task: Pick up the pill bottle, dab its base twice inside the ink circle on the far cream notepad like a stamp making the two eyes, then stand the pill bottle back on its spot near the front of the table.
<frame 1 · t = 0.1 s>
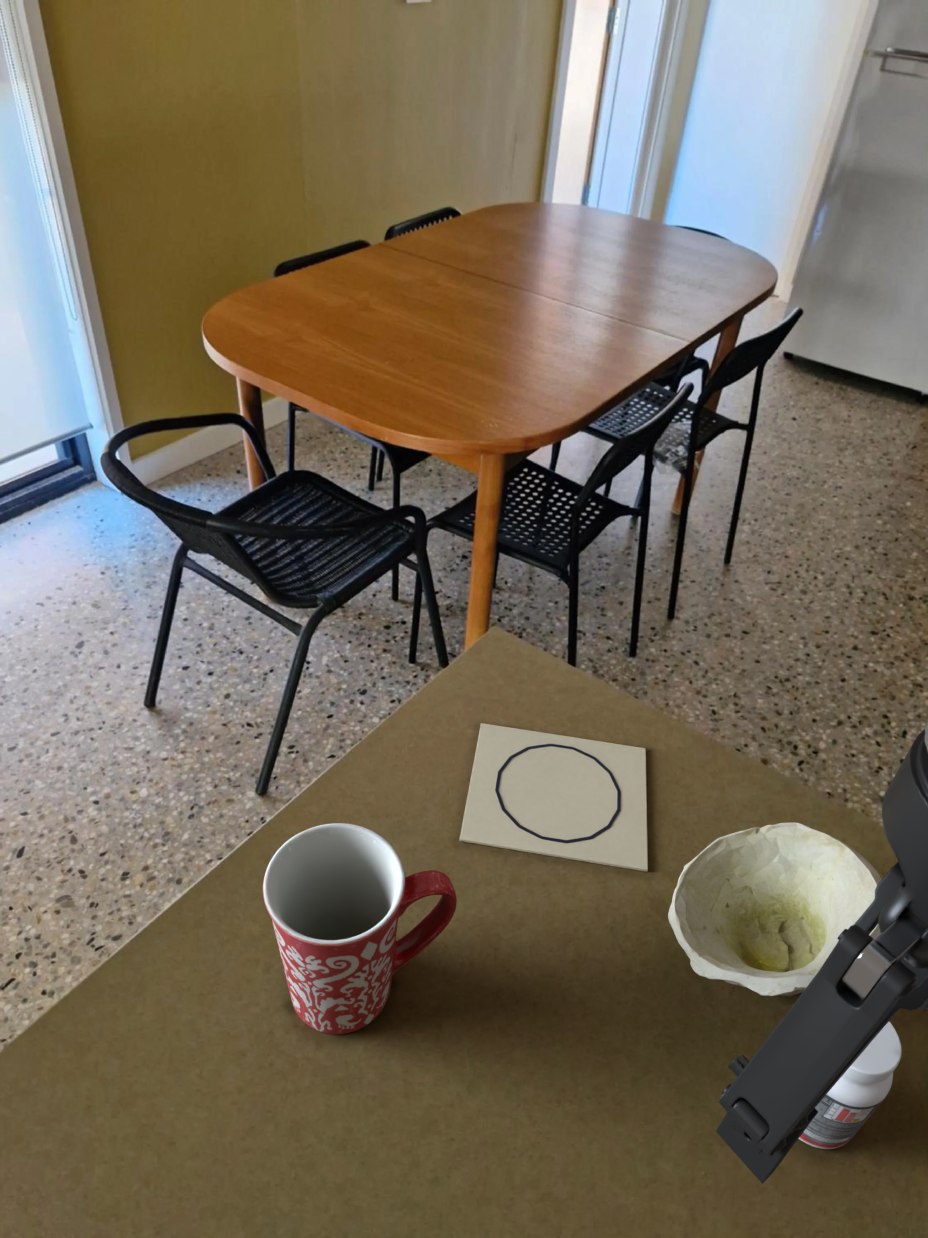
hand: (829, 1064, 44), 19 cm above the counter, tool pointing down, fingers open, 13 cm apart
pill bottle: (810, 1107, 61), on the counter
notepad: (557, 793, 81), on the counter
bowl: (750, 954, 70), on the counter
mug: (363, 986, 65), on the counter
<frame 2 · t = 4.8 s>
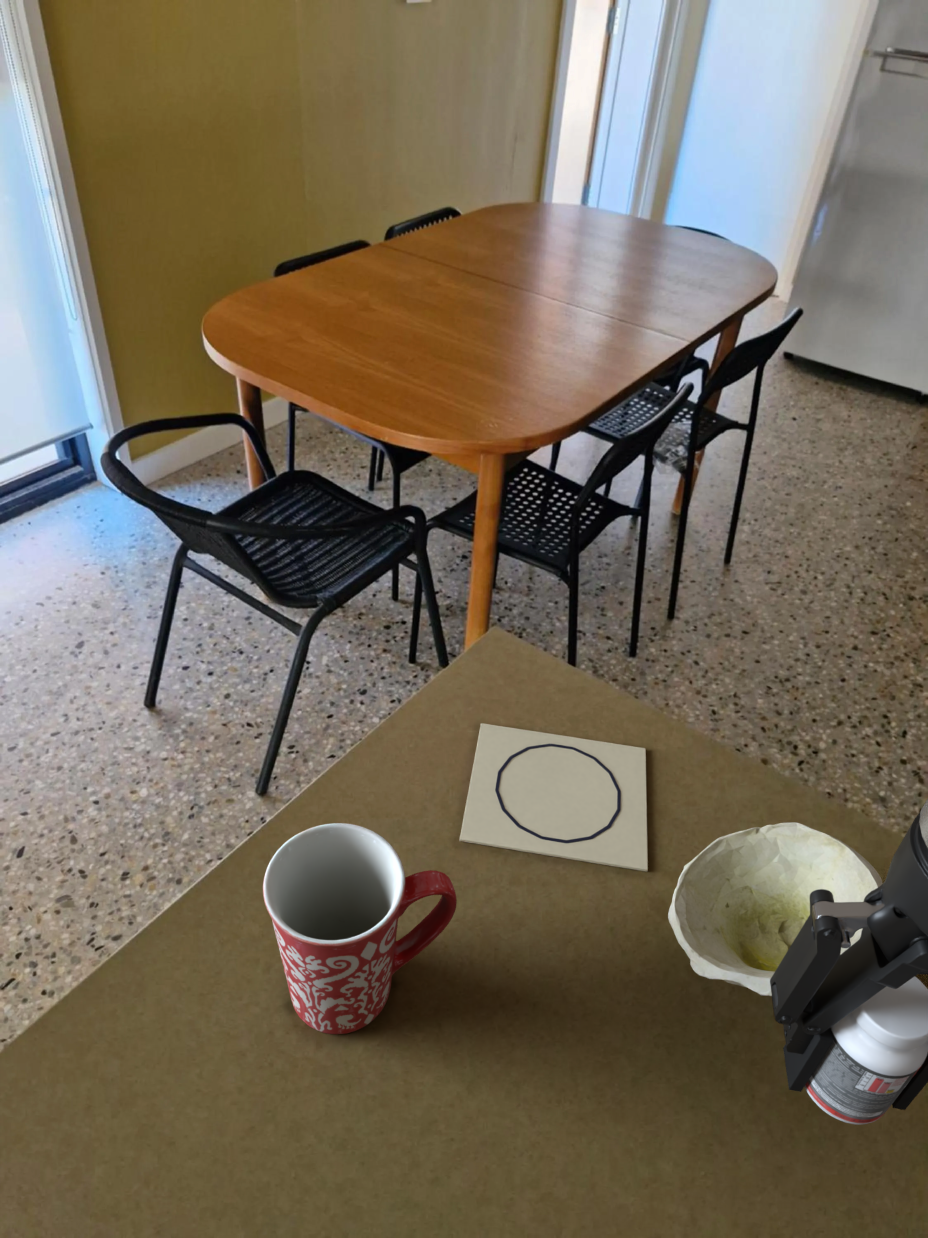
hand: (842, 1078, 57), 5 cm above the counter, tool pointing down, fingers closed on pill bottle, 6 cm apart
pill bottle: (840, 1082, 57), point 5 cm above the counter, touching gripper
everything else where it was.
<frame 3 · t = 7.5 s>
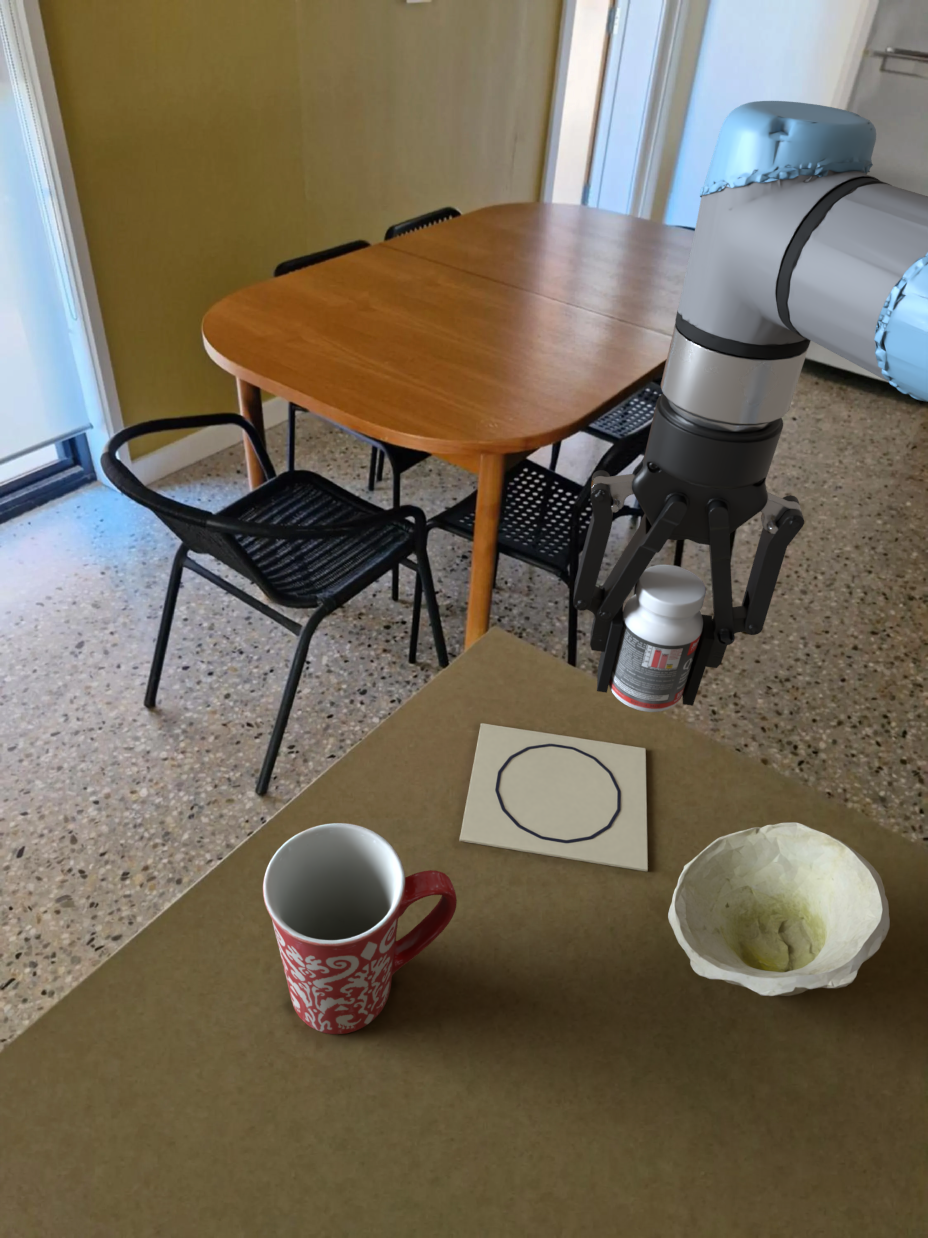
hand: (644, 685, 67), 17 cm above the counter, tool pointing down, fingers closed on pill bottle, 6 cm apart
pill bottle: (643, 690, 68), point 17 cm above the counter, touching gripper
everything else where it was.
when the fingers open (1 cm above the counter, at t = 10.5 s): pill bottle stays where it is, resting on notepad.
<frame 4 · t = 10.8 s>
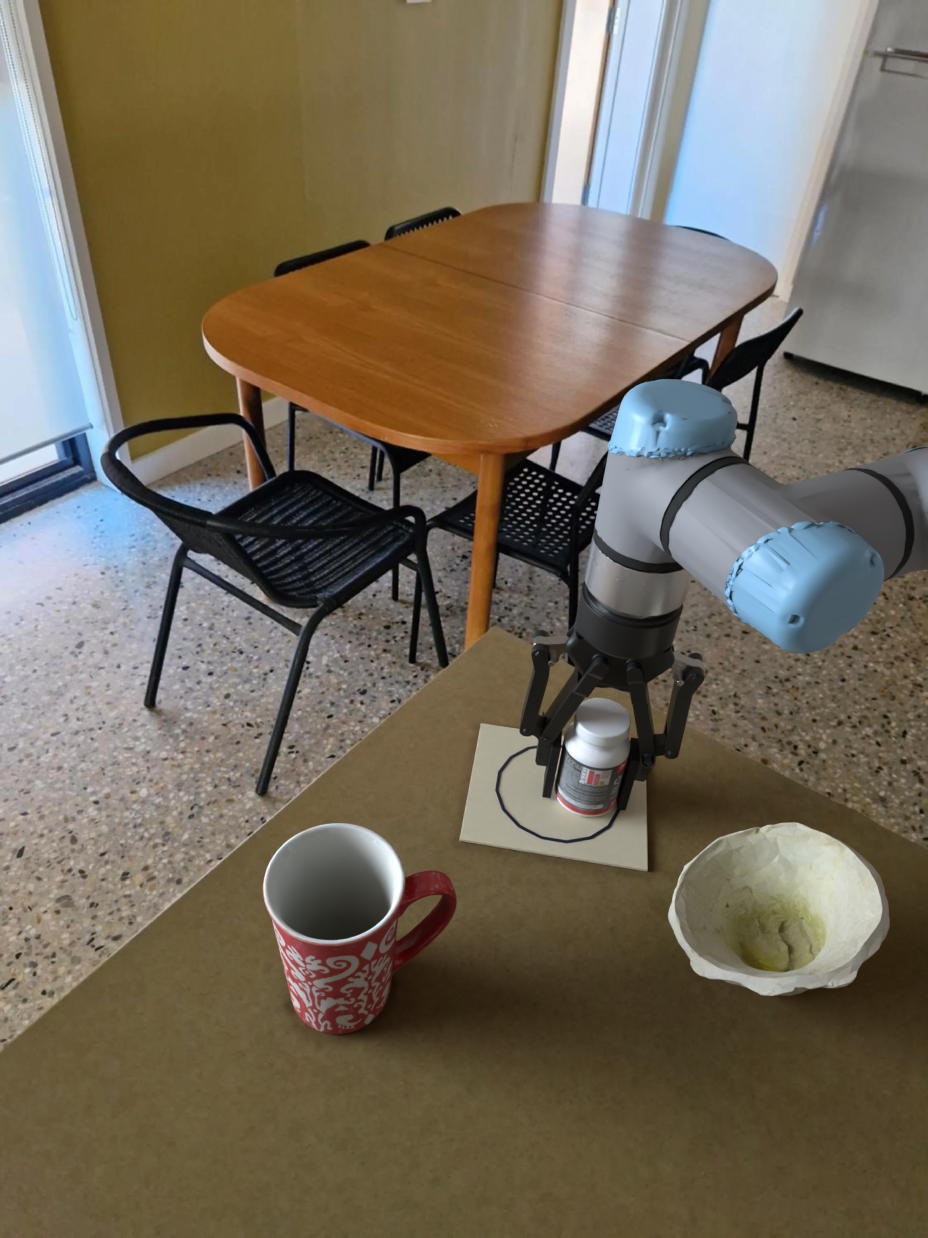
hand: (584, 792, 80), 1 cm above the counter, tool pointing down, fingers open, 6 cm apart
pill bottle: (584, 796, 80), resting on notepad
everything else where it was.
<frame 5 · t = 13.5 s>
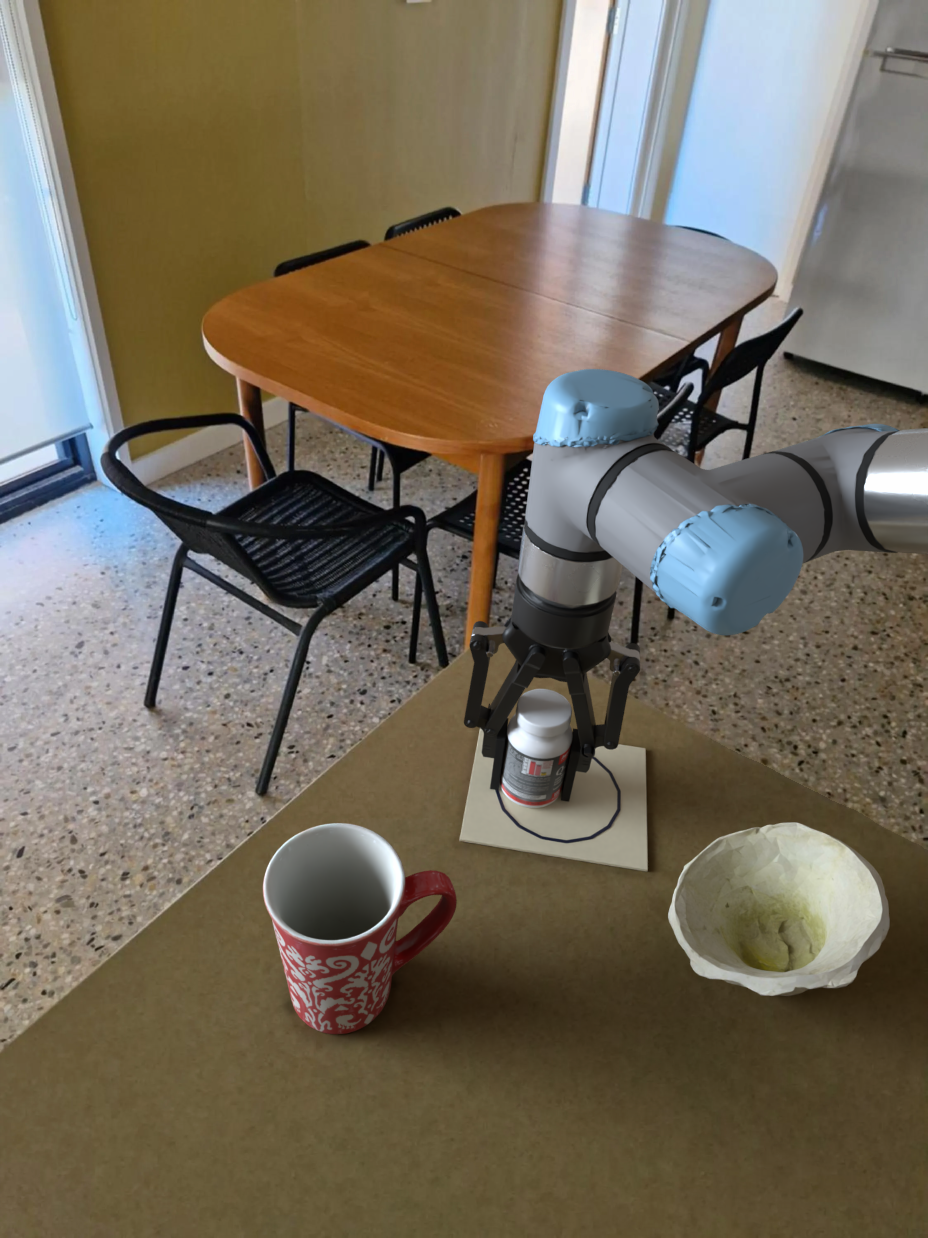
hand: (530, 783, 80), 1 cm above the counter, tool pointing down, fingers closed on pill bottle, 6 cm apart
pill bottle: (529, 787, 81), resting on notepad, touching gripper
everything else where it was.
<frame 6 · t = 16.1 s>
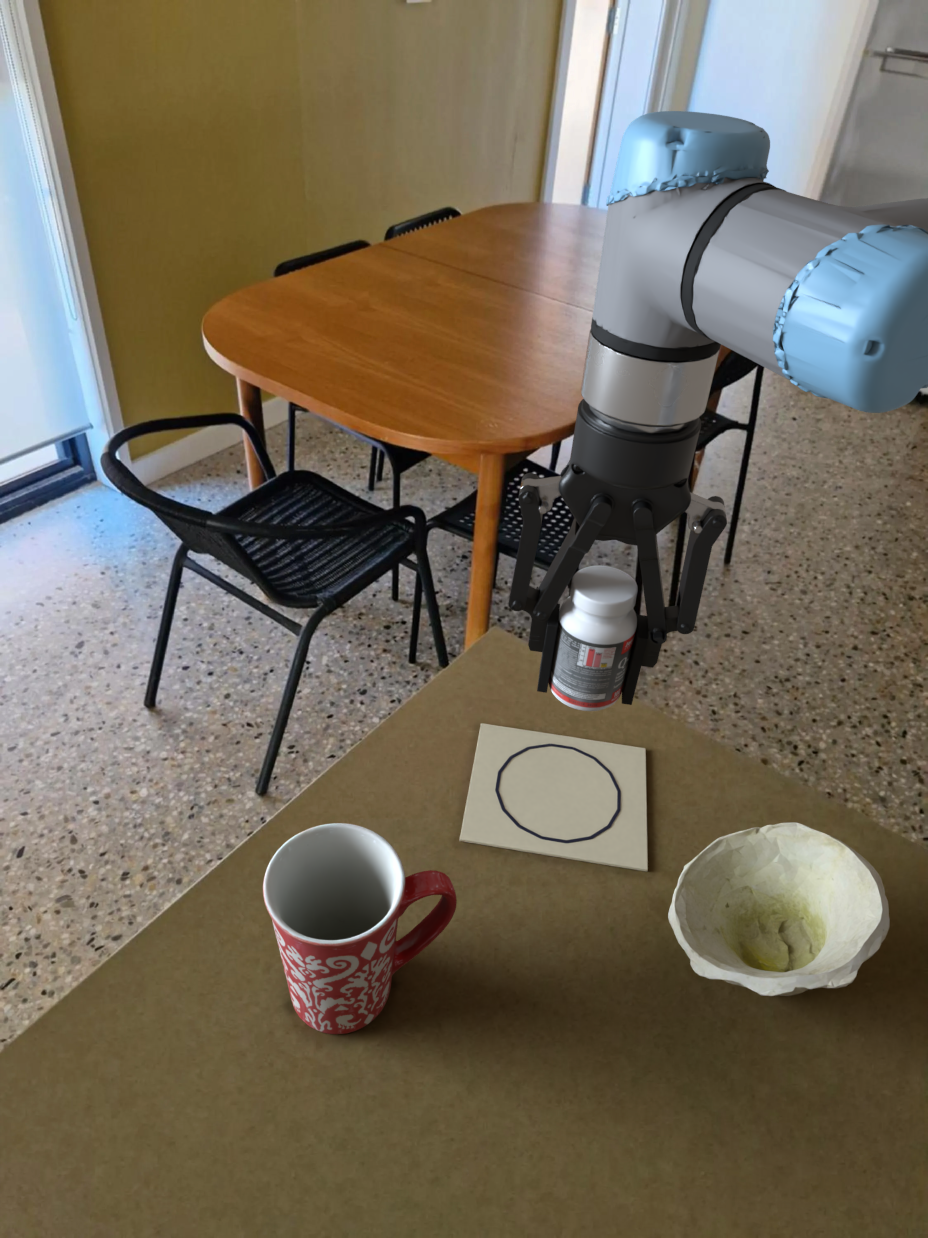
hand: (584, 685, 68), 16 cm above the counter, tool pointing down, fingers closed on pill bottle, 6 cm apart
pill bottle: (583, 690, 68), point 16 cm above the counter, touching gripper
everything else where it was.
when the fingers open (0 cm above the counter, at t = 20.7 s): pill bottle stays where it is, on the counter.
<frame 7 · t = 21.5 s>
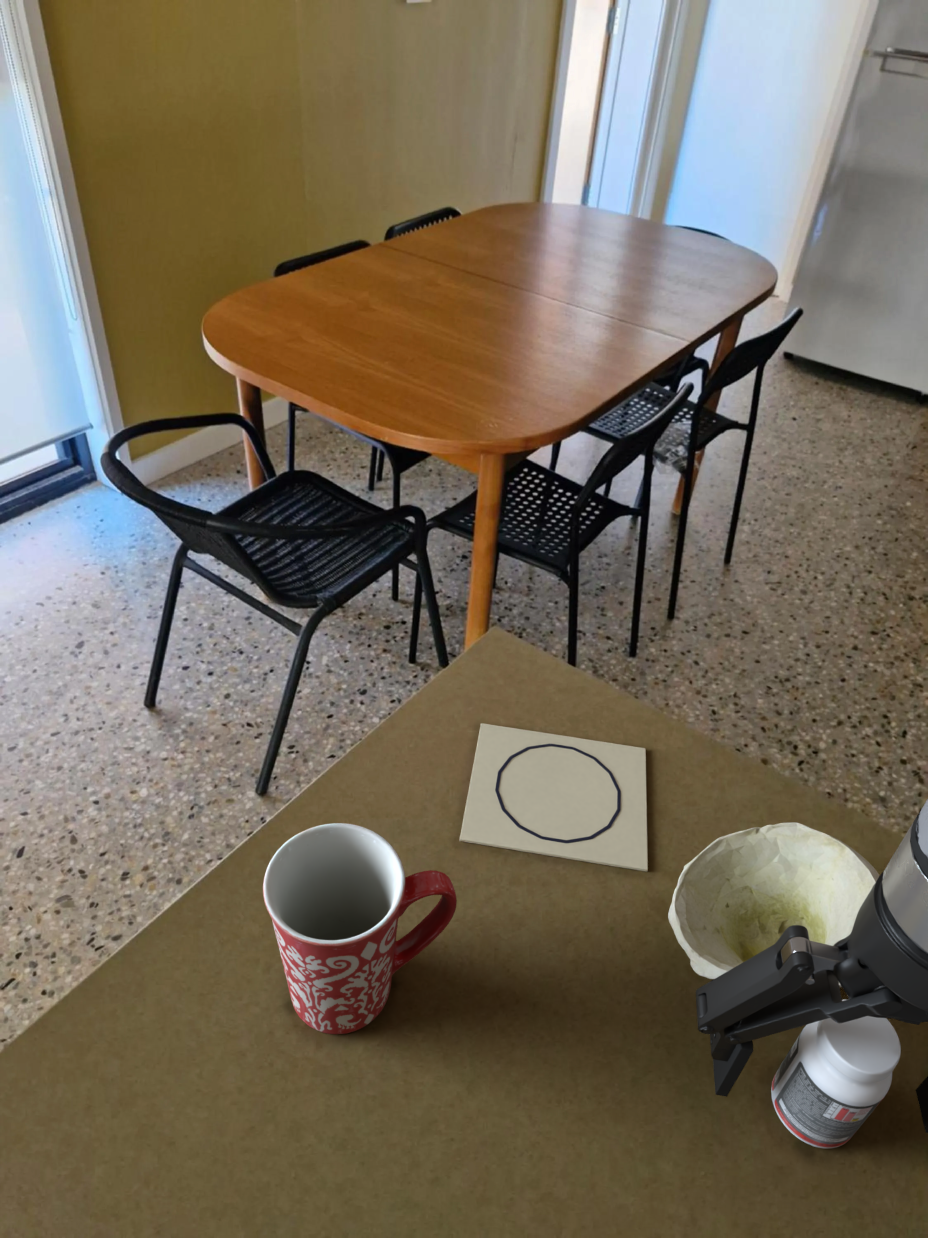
hand: (821, 1094, 59), 2 cm above the counter, tool pointing down, fingers open, 13 cm apart
pill bottle: (810, 1107, 61), on the counter
everything else where it was.
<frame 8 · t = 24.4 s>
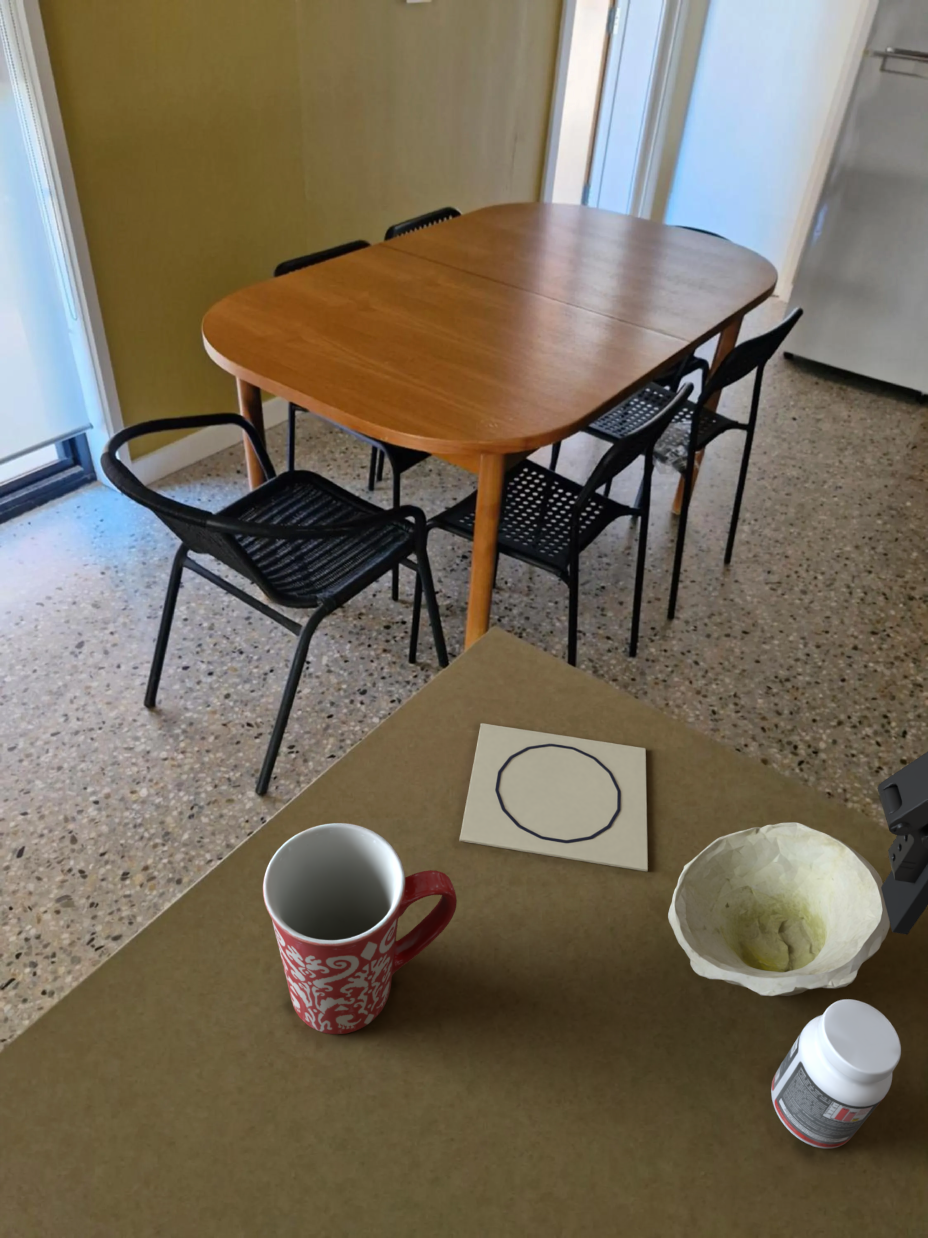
nothing on the counter moved.
at the end: pill bottle 0.0 cm from the target spot on the counter beside the notepad, on the counter; pill bottle tilted 0°; the gripper is holding nothing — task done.
